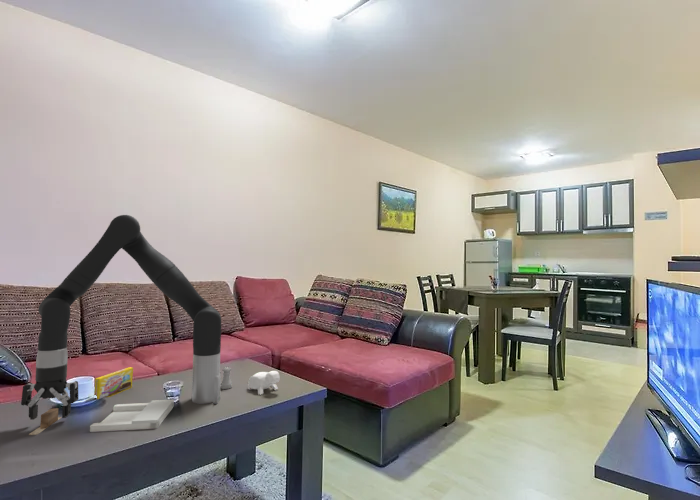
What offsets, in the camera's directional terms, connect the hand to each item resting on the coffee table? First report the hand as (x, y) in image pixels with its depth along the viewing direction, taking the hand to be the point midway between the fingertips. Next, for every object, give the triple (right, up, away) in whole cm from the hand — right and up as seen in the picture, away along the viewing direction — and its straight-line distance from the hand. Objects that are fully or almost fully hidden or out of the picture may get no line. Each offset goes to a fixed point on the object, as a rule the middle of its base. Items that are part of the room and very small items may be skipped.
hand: (49, 417), depth 115 cm
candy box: (+2, -4, +28) cm, 28 cm away
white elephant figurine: (+57, -5, +34) cm, 67 cm away
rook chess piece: (+41, -5, +37) cm, 56 cm away
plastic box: (+24, -3, +4) cm, 24 cm away
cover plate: (+5, -3, +1) cm, 6 cm away
